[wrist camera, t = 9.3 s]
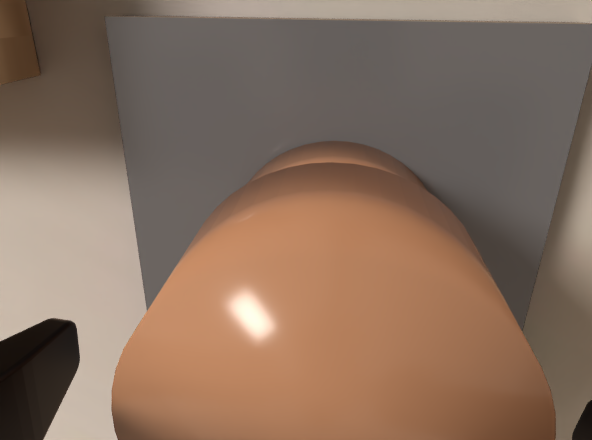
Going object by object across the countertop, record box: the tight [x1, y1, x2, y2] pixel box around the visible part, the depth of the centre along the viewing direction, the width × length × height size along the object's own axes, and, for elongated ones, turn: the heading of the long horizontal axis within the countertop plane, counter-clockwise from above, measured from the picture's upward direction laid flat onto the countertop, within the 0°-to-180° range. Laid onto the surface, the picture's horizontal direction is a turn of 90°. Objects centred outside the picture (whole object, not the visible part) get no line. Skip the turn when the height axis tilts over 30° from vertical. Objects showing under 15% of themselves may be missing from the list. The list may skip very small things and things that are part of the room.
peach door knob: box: [112, 141, 556, 440], centre depth 10 cm, size 6×6×6 cm
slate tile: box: [105, 15, 592, 330], centre depth 13 cm, size 11×11×1 cm
